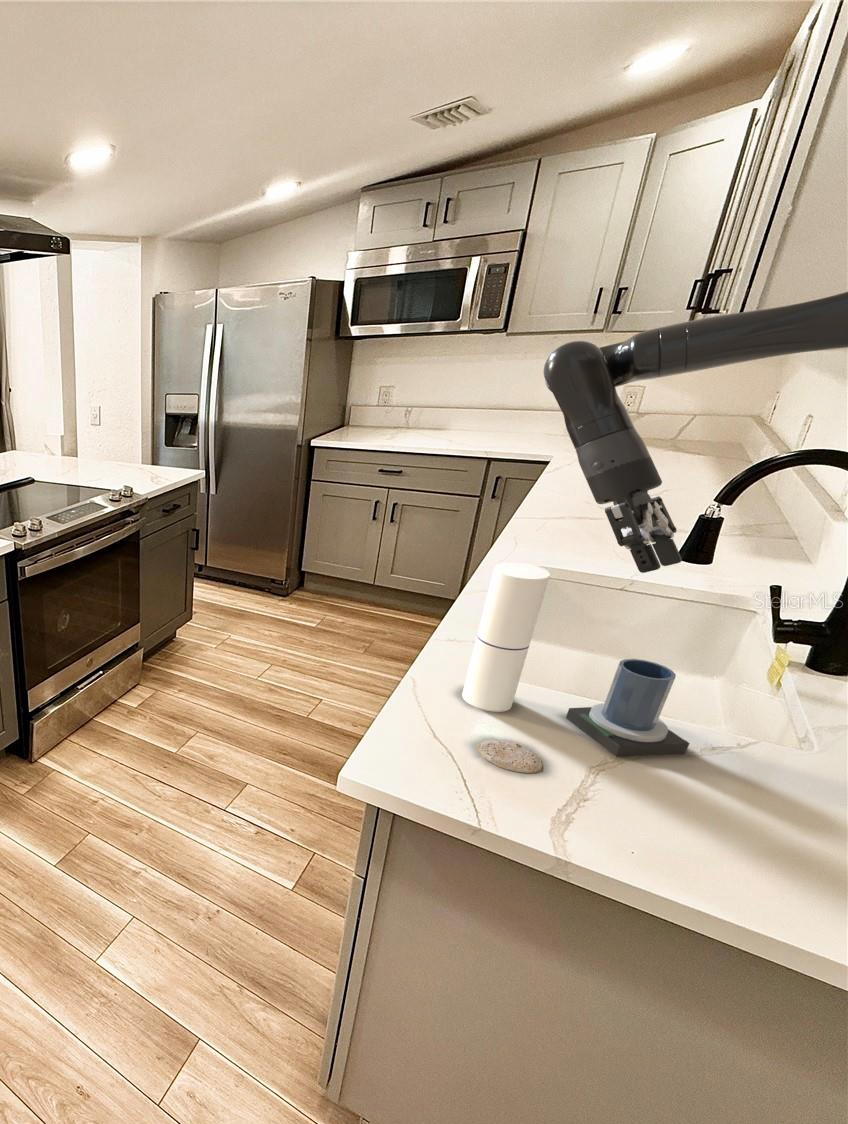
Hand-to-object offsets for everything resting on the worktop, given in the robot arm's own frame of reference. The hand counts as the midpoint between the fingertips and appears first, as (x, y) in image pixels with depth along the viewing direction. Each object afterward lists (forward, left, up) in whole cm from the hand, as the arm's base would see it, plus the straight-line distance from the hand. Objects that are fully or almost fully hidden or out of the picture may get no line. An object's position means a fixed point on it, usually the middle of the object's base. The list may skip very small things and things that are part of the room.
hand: (662, 567), depth 89 cm
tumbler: (+1, +4, -24) cm, 24 cm away
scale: (+1, +4, -27) cm, 28 cm away
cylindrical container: (+15, -7, -27) cm, 32 cm away
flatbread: (+21, +8, -27) cm, 35 cm away
